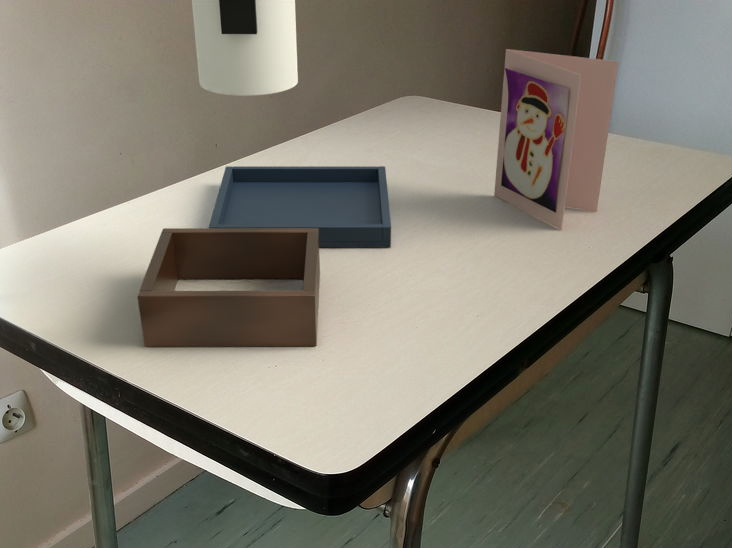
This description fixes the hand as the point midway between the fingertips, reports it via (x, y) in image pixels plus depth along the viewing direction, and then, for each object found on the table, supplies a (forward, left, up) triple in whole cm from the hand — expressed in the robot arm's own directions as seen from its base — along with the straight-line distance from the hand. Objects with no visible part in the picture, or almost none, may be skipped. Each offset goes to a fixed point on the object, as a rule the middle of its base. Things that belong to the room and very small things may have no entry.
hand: (244, 20), depth 81 cm
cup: (0, 0, -5) cm, 5 cm away
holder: (-1, -8, -21) cm, 23 cm away
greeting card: (+30, +16, -22) cm, 40 cm away
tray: (+4, +14, -21) cm, 26 cm away
